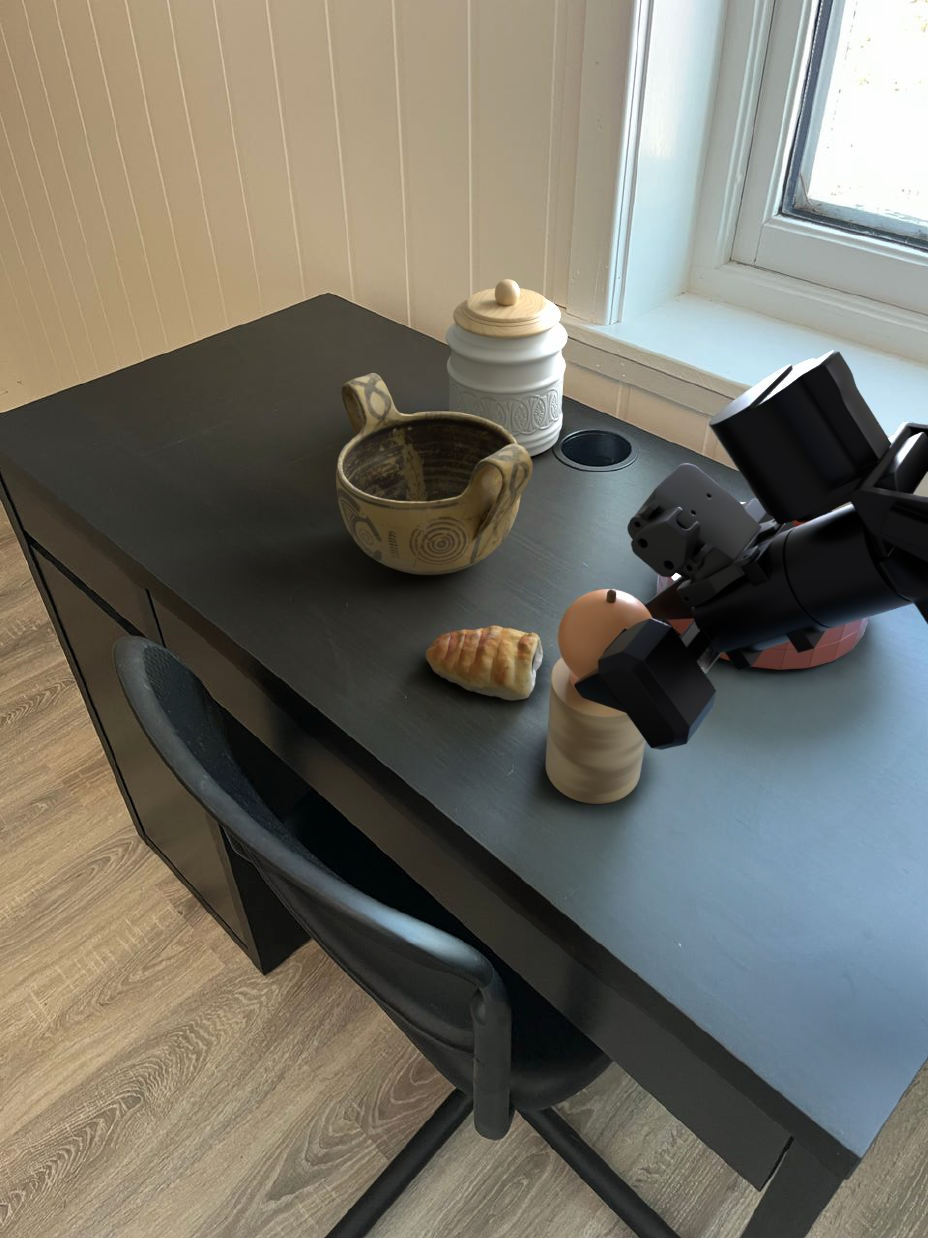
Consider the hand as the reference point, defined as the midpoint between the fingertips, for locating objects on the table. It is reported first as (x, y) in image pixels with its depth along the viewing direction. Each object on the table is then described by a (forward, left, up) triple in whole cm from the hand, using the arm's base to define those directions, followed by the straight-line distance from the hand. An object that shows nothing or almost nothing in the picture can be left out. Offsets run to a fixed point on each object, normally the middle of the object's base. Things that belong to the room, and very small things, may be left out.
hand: (614, 649), depth 62 cm
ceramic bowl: (+24, -19, -12) cm, 33 cm away
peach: (+1, 0, -3) cm, 3 cm away
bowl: (-6, -24, -12) cm, 28 cm away
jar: (+27, -43, -12) cm, 52 cm away
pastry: (+12, -6, -12) cm, 18 cm away
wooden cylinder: (+1, 0, -12) cm, 12 cm away
